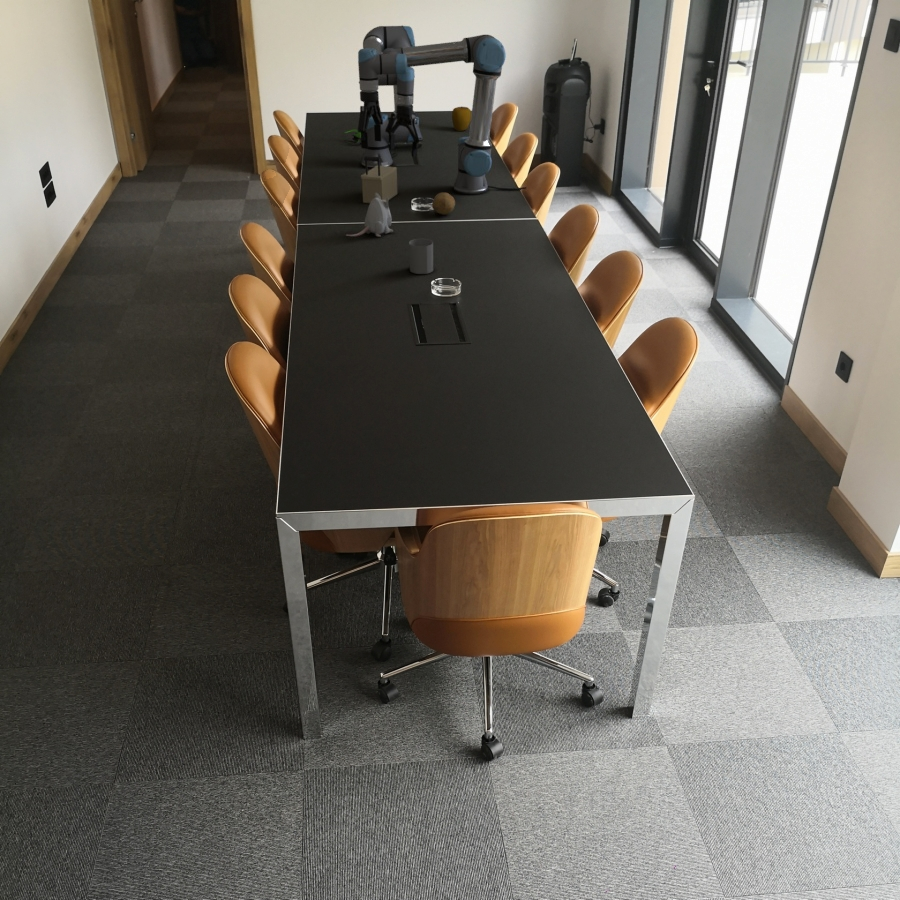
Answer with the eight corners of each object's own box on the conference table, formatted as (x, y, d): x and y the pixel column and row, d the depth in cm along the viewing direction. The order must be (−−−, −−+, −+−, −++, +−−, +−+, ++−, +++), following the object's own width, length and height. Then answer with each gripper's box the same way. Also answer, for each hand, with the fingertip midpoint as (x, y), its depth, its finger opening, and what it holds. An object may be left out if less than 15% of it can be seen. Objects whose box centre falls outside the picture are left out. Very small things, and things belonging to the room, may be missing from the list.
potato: (453, 208, 369) (453, 189, 365) (456, 218, 357) (456, 199, 353) (431, 208, 368) (430, 189, 364) (432, 218, 356) (432, 199, 352)
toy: (398, 232, 342) (397, 194, 334) (353, 246, 328) (351, 207, 320) (383, 227, 348) (381, 189, 340) (338, 241, 333) (335, 202, 325)
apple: (471, 132, 486) (471, 108, 479) (451, 132, 486) (451, 108, 479) (470, 128, 495) (471, 104, 488) (452, 128, 495) (452, 104, 488)
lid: (380, 180, 367) (379, 158, 362) (360, 178, 370) (359, 157, 365) (396, 169, 381) (396, 149, 376) (377, 167, 384) (376, 147, 379)
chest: (382, 204, 374) (381, 179, 368) (363, 202, 376) (361, 177, 370) (397, 193, 387) (396, 169, 381) (378, 191, 389) (377, 168, 384)
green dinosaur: (399, 126, 467) (343, 124, 465) (399, 141, 460) (342, 139, 458) (399, 136, 472) (343, 133, 470) (399, 151, 465) (342, 149, 463)
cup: (409, 265, 311) (408, 238, 306) (432, 265, 312) (431, 238, 307) (410, 274, 304) (409, 246, 299) (433, 273, 305) (433, 246, 299)
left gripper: (378, 99, 392) (377, 147, 404) (421, 111, 380) (418, 160, 392) (389, 97, 397) (388, 144, 409) (431, 109, 385) (429, 157, 397)
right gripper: (373, 84, 362) (375, 137, 374) (347, 95, 343) (350, 150, 354) (389, 85, 360) (391, 138, 372) (364, 96, 341) (367, 152, 352)
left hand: (403, 152), depth 401 cm, fingers open, 13 cm apart
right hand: (371, 144), depth 363 cm, fingers open, 13 cm apart
